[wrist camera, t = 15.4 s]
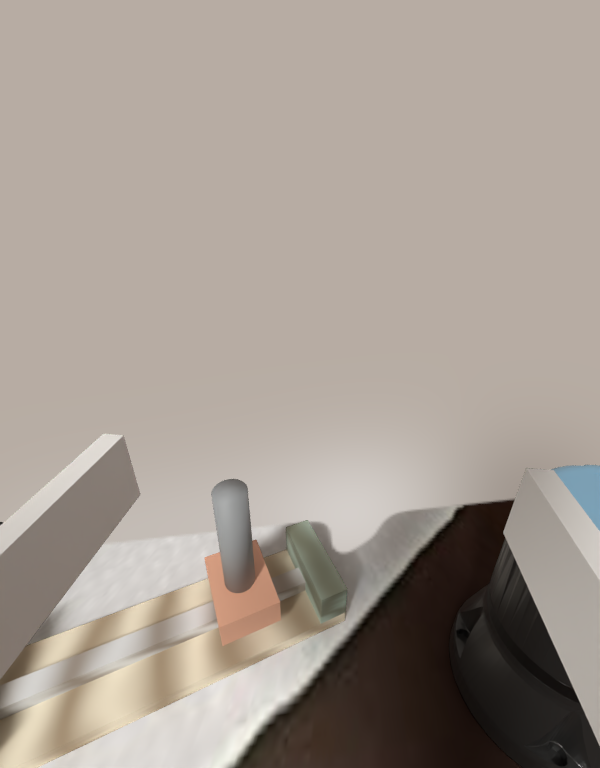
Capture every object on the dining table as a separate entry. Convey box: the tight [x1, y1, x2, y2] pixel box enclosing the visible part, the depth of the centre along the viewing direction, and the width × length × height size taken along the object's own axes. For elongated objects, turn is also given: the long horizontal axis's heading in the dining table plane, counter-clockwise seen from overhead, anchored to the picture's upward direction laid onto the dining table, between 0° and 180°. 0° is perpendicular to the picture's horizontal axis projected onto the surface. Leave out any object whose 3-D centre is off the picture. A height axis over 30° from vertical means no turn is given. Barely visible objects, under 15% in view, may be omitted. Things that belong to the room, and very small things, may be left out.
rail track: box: [0, 520, 347, 768], centre depth 36 cm, size 36×10×6 cm, turn 113°
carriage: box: [205, 479, 281, 646], centre depth 35 cm, size 6×8×16 cm
